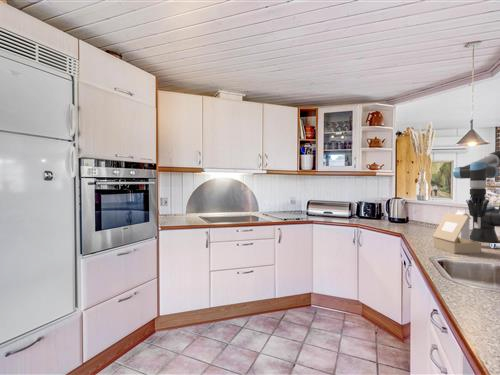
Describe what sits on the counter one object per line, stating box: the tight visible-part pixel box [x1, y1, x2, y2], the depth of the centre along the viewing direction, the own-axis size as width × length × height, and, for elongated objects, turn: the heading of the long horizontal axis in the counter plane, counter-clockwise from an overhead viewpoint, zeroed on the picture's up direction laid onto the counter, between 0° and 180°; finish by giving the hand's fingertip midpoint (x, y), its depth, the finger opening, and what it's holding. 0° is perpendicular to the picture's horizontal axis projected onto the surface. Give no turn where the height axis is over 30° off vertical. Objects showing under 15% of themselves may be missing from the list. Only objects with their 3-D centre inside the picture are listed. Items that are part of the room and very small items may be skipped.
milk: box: [454, 209, 471, 240], centre depth 183 cm, size 6×6×22 cm
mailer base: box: [433, 237, 482, 255], centre depth 168 cm, size 16×16×6 cm
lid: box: [432, 212, 472, 243], centre depth 168 cm, size 17×17×3 cm
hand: (477, 228), depth 169 cm, fingers closed
